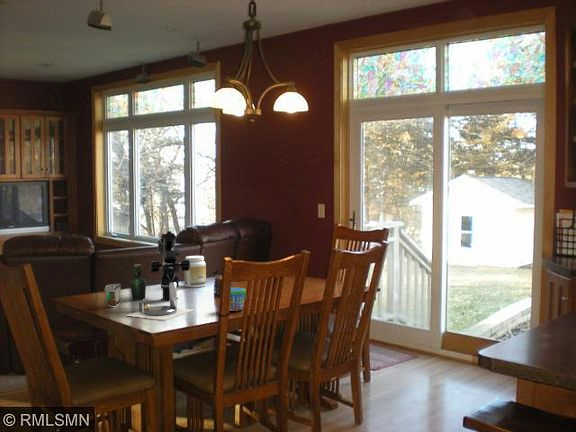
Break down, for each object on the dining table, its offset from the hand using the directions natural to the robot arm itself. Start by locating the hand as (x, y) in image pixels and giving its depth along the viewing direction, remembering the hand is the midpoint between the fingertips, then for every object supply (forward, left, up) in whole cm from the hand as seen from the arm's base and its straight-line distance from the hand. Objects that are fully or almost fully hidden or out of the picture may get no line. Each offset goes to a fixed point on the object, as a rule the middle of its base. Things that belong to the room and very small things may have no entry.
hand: (171, 279), depth 311 cm
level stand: (+3, -13, -14) cm, 19 cm away
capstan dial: (+3, -13, -14) cm, 19 cm away
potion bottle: (-29, +10, -14) cm, 34 cm away
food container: (-31, -8, -14) cm, 35 cm away
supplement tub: (-24, +54, -14) cm, 61 cm away
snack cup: (+31, +6, -14) cm, 35 cm away
